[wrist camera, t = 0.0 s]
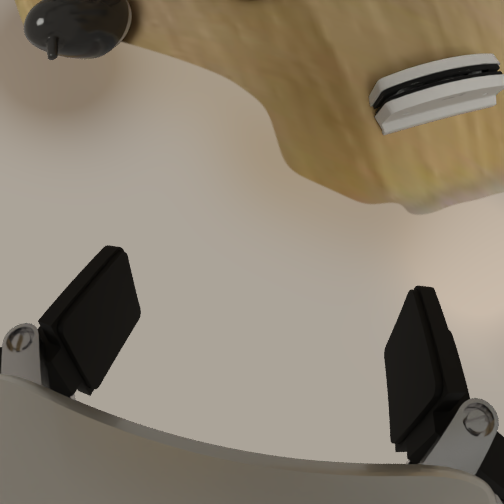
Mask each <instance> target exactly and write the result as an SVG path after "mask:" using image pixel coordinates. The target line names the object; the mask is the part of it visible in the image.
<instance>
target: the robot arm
mask: <svg viewBox="0 0 504 504" xmlns="http://www.w3.org/2000/svg"><path fill="white" fill-rule="evenodd" d="M140 314H141V311H140V306H139V302H138V298H137V294H136V290H135V286H134V282H133V277H132V273H131V269H130V264H129V260H128V256H127V253H125V252H124V250H123V249H122V248H121V247H115V246H105V247H104V248H103V249H102V250H101V251H100V252H99V253H98V254H97V255H96V256H95V257H94V258H93V259H92V260H91V261H90V262H89V264H88V265H87V266H86V267H85V268H84V269H83V270H82V271H81V272H80V273H79V274H78V275H77V277H76V278H75V279H74V280H73V281H72V282H71V283H70V284H69V285H68V287H67V288H66V289H65V290H64V291H63V292H62V293H61V295H60V296H59V297H58V298H57V299H56V300H55V302H54V303H53V304H52V305H51V306H50V307H49V309H48V310H47V311H46V312H45V313H44V314H43V316H42V317H41V318H40V319H39V321H38V322H39V324H40V327H39V328H38V329H37V328H36V327H35V326H34V325H32V324H28V323H24V324H20V325H17V326H15V327H14V328H12V329H11V330H10V331H9V332H8V333H7V334H6V336H5V338H4V340H3V344H2V347H0V504H504V437H503V436H502V435H501V434H499V433H498V432H497V430H498V426H499V424H498V416H497V413H496V411H495V410H494V408H493V407H492V406H491V405H490V404H489V403H488V402H486V401H484V400H482V399H478V398H474V399H470V397H469V393H468V389H467V385H466V381H465V377H464V373H463V369H462V366H461V362H460V359H459V355H458V352H457V348H456V345H455V342H454V339H453V336H452V333H451V332H450V331H449V330H448V327H447V324H446V321H445V318H444V315H443V312H442V309H441V306H440V304H439V301H438V298H437V295H436V292H435V290H434V288H432V287H425V286H416V287H415V288H414V290H410V291H409V292H408V294H407V297H406V300H405V302H404V305H403V307H402V310H401V312H400V315H399V317H398V319H397V322H396V324H395V326H394V329H393V331H392V333H391V336H390V338H389V340H388V343H387V345H386V347H385V352H384V359H385V368H386V378H387V388H388V401H389V417H390V437H391V442H392V443H395V450H396V452H407V458H408V459H409V460H408V462H407V463H406V464H364V463H344V462H328V461H315V460H304V459H295V458H286V457H279V456H272V455H266V454H260V453H254V452H247V451H242V450H237V449H232V448H226V447H222V446H217V445H213V444H209V443H204V442H200V441H196V440H192V439H188V438H184V437H180V436H177V435H173V434H169V433H166V432H163V431H159V430H156V429H153V428H150V427H146V426H143V425H140V424H137V423H134V422H131V421H128V420H125V419H122V418H120V417H117V416H114V415H111V414H109V413H106V412H103V411H101V410H98V409H96V408H93V407H91V406H88V405H86V404H83V403H81V402H79V401H76V400H75V395H74V393H75V392H76V390H77V389H78V391H80V392H83V393H85V394H87V395H91V394H92V392H93V390H94V389H97V388H98V387H99V386H100V384H101V382H102V381H103V379H104V377H105V376H106V374H107V372H108V370H109V369H110V367H111V365H112V363H113V362H114V360H115V358H116V357H117V355H118V353H119V352H120V350H121V348H122V347H123V345H124V343H125V341H126V340H127V338H128V337H129V335H130V333H131V332H132V330H133V328H134V327H135V325H136V323H137V322H138V320H139V318H140Z"/></svg>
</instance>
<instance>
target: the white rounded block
mask: <svg viewBox="0 0 504 504" xmlns="http://www.w3.org/2000/svg"><path fill="white" fill-rule="evenodd" d="M499 65H500V63H499V61H498V60H497V58H496V57H495V56H494V54H472V55H463V56H457V57H451V58H446V59H441V60H437V61H432V62H429V63H425V64H422V65H418V66H415V67H411V68H408V69H405V70H402V71H399V72H397V73H394V74H391V75H389V76H386V77H383V78H381V79H379V80H378V81H377V83H376V85H375V86H374V88H373V90H372V92H371V94H370V96H369V102H370V107H371V106H373V107H374V109H375V108H379V109H378V110H377V111H376V116H375V119H376V120H377V122H378V123H379V125H380V127H381V129H382V133H383V135H387V134H390V133H394V132H397V131H401V130H404V129H408V128H411V127H415V126H418V125H422V124H425V123H429V122H433V121H436V120H440V119H444V118H448V117H452V116H456V115H460V114H464V113H468V112H472V111H476V110H480V109H485V108H489V107H492V106H494V105H496V94H497V93H499V92H500V91H502V90H503V89H504V74H502V72H501V71H498V70H499V69H500V67H499Z"/></svg>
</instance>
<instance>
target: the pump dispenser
mask: <svg viewBox="0 0 504 504" xmlns="http://www.w3.org/2000/svg"><path fill="white" fill-rule="evenodd" d="M131 19H132V13H131V8H130V5H129V3H128V1H127V0H42V1H40V2H39V3H37V4H36V5H35V6H34V7H33V8H32V9H31V10H30V12H29V13H28V15H27V17H26V19H25V23H24V33H25V36H26V38H27V39H28V40H29V42H30V43H32V44H33V45H34V46H36V47H37V48H39V49H41V50H43V51H46V52H47V55H48V59H49V60H54V59H56V58H57V56H62V57H67V58H75V59H92V58H97V57H100V56H102V55H104V54H106V53H107V52H109V51H110V50H112V49H113V48H114V47H116V46H117V45H118V44H119V43H120V42H121V41H122V40H123V38H124V37H125V36H126V34H127V32H128V30H129V28H130V24H131Z"/></svg>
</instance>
